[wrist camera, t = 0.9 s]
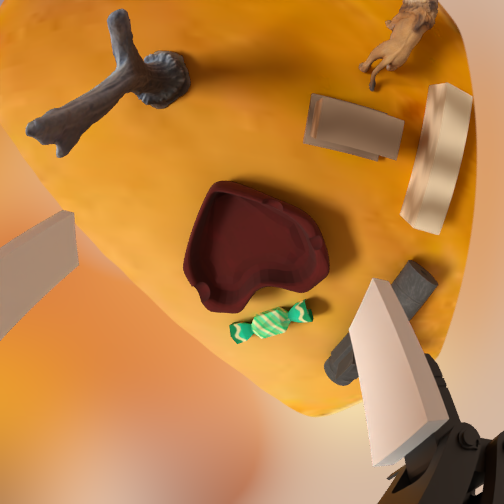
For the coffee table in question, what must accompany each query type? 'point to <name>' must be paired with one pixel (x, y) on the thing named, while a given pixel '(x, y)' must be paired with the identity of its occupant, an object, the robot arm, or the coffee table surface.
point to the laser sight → (411, 299)
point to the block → (437, 157)
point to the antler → (114, 89)
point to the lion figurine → (402, 35)
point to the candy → (270, 322)
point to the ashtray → (251, 247)
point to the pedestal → (352, 128)
